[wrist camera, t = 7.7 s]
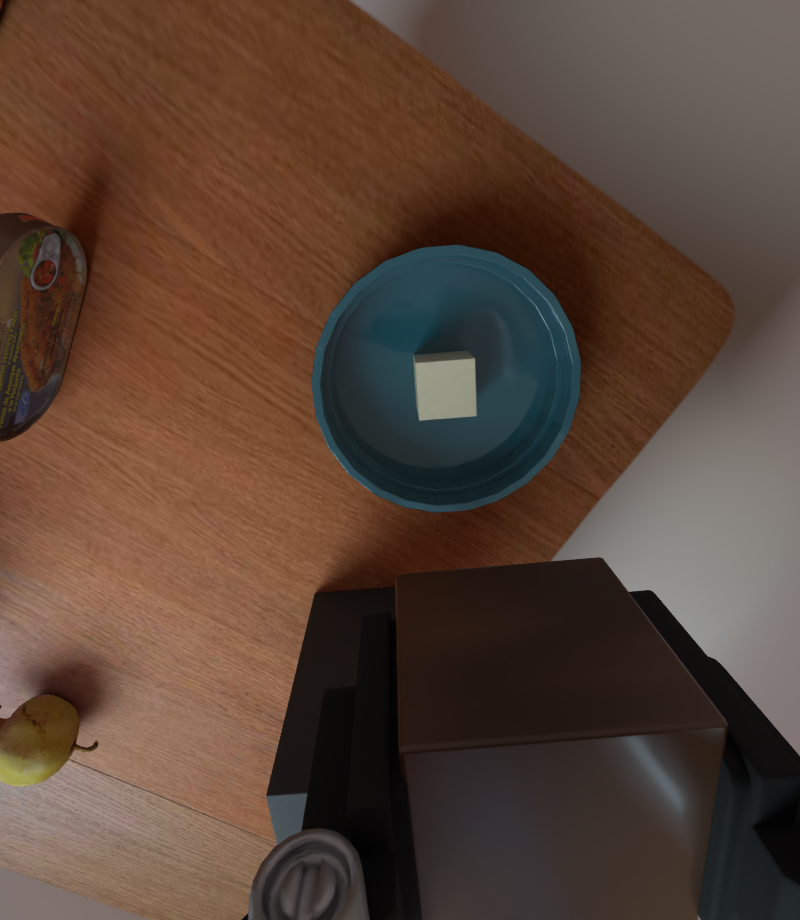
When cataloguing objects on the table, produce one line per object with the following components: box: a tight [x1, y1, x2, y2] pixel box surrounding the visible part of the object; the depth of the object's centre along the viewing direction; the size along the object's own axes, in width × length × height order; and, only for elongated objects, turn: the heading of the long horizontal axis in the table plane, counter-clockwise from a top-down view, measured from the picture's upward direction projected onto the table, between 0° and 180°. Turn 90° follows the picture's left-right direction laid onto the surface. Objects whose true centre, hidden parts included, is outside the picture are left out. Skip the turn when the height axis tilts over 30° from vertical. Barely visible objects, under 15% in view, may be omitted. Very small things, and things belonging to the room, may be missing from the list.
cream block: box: [413, 351, 477, 420], centre depth 37 cm, size 4×4×4 cm
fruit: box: [0, 695, 98, 786], centre depth 46 cm, size 7×7×10 cm
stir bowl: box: [312, 245, 581, 512], centre depth 38 cm, size 18×18×4 cm
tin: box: [0, 213, 87, 442], centre depth 34 cm, size 15×3×8 cm, turn 155°
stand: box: [266, 587, 396, 845], centre depth 38 cm, size 8×8×19 cm
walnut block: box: [395, 557, 728, 920], centre depth 9 cm, size 4×4×4 cm
